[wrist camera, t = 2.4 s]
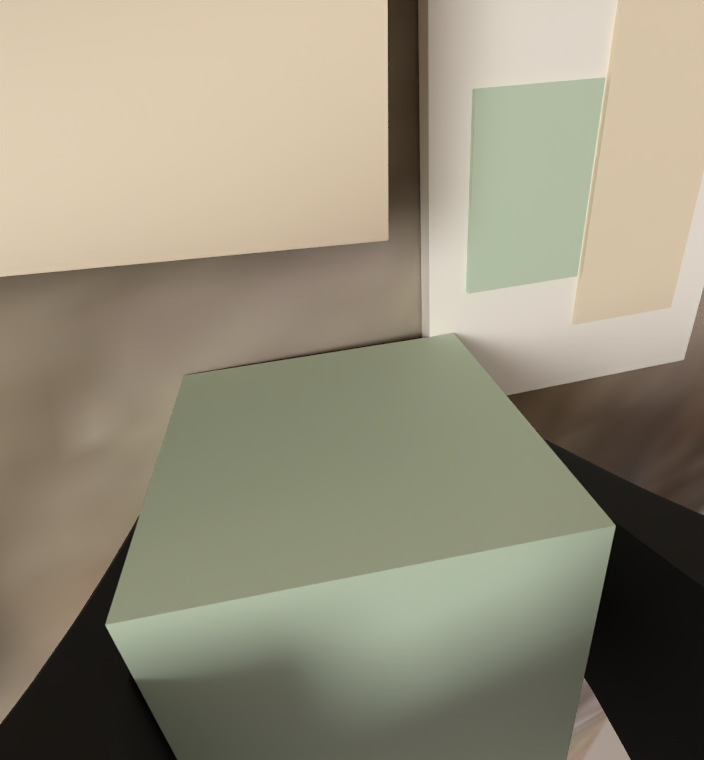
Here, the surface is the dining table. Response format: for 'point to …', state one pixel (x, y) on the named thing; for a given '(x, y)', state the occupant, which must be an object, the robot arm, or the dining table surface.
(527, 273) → the card
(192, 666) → the sage green block
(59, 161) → the birch base block
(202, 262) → the dining table surface
